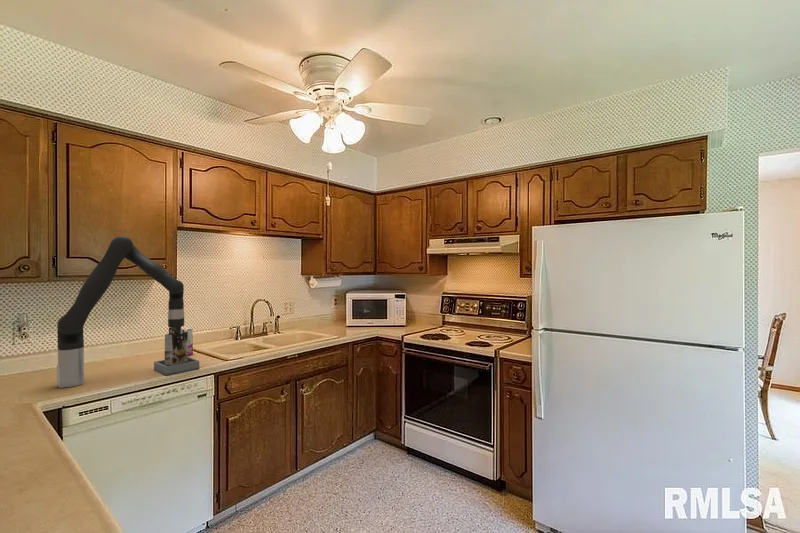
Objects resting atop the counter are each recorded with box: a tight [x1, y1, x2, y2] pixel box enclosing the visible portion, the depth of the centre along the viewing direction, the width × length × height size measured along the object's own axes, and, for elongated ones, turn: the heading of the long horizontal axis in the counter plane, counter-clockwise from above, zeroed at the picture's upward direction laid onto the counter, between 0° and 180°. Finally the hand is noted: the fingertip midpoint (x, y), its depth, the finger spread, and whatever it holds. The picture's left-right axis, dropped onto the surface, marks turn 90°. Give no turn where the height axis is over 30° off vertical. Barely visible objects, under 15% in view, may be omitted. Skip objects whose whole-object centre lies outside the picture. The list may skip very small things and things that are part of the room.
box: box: [153, 356, 200, 377], centre depth 201 cm, size 16×17×4 cm
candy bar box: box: [181, 327, 194, 357], centre depth 229 cm, size 11×5×16 cm, turn 171°
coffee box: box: [164, 332, 189, 366], centre depth 200 cm, size 9×6×16 cm
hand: (176, 347), depth 200 cm, fingers closed on coffee box, 8 cm apart
